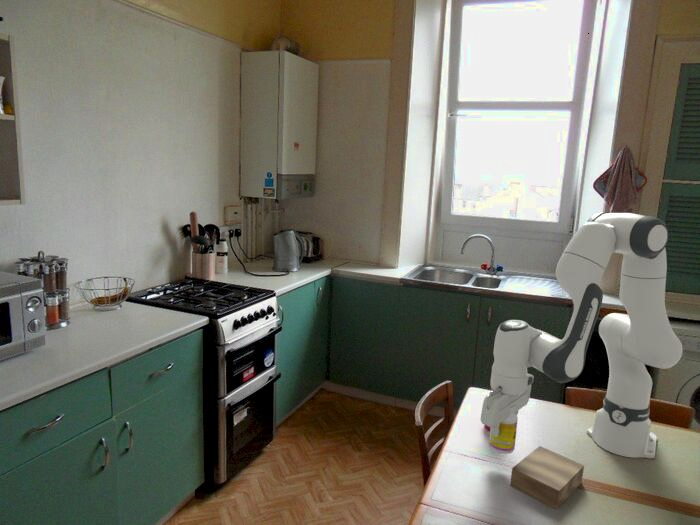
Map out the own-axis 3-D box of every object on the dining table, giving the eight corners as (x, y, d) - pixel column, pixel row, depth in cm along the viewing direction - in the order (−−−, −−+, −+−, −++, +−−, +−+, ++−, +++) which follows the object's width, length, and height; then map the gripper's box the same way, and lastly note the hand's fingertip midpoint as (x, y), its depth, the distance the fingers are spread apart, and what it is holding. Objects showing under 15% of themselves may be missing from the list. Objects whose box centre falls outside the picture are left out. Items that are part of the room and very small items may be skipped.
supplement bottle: (515, 456, 132) (520, 411, 130) (489, 453, 133) (493, 408, 131) (512, 443, 139) (517, 399, 136) (488, 439, 140) (492, 396, 137)
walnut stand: (537, 462, 140) (539, 445, 139) (581, 482, 132) (584, 465, 131) (509, 485, 129) (512, 467, 128) (556, 509, 121) (559, 490, 120)
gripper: (499, 397, 123) (494, 449, 125) (536, 374, 137) (531, 421, 140) (476, 389, 127) (472, 439, 130) (514, 367, 141) (510, 413, 144)
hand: (503, 429), depth 135 cm, fingers closed on supplement bottle, 7 cm apart
